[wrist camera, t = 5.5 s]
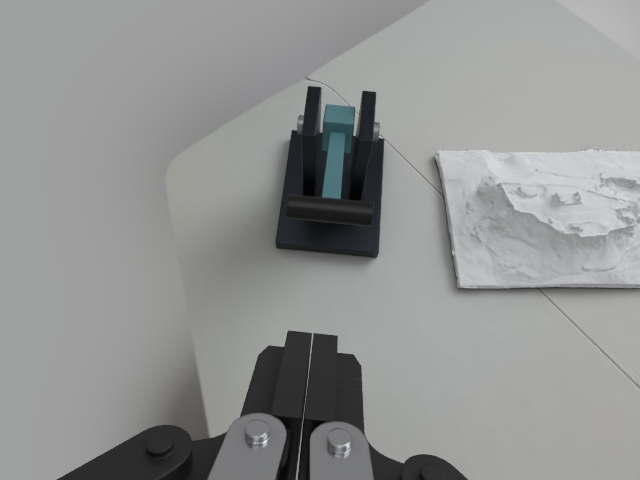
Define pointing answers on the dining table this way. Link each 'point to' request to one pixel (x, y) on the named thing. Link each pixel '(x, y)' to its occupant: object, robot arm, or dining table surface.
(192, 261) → the dining table surface
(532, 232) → the terrain model
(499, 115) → the dining table surface
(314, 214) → the switch lever
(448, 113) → the dining table surface
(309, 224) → the switch bracket
